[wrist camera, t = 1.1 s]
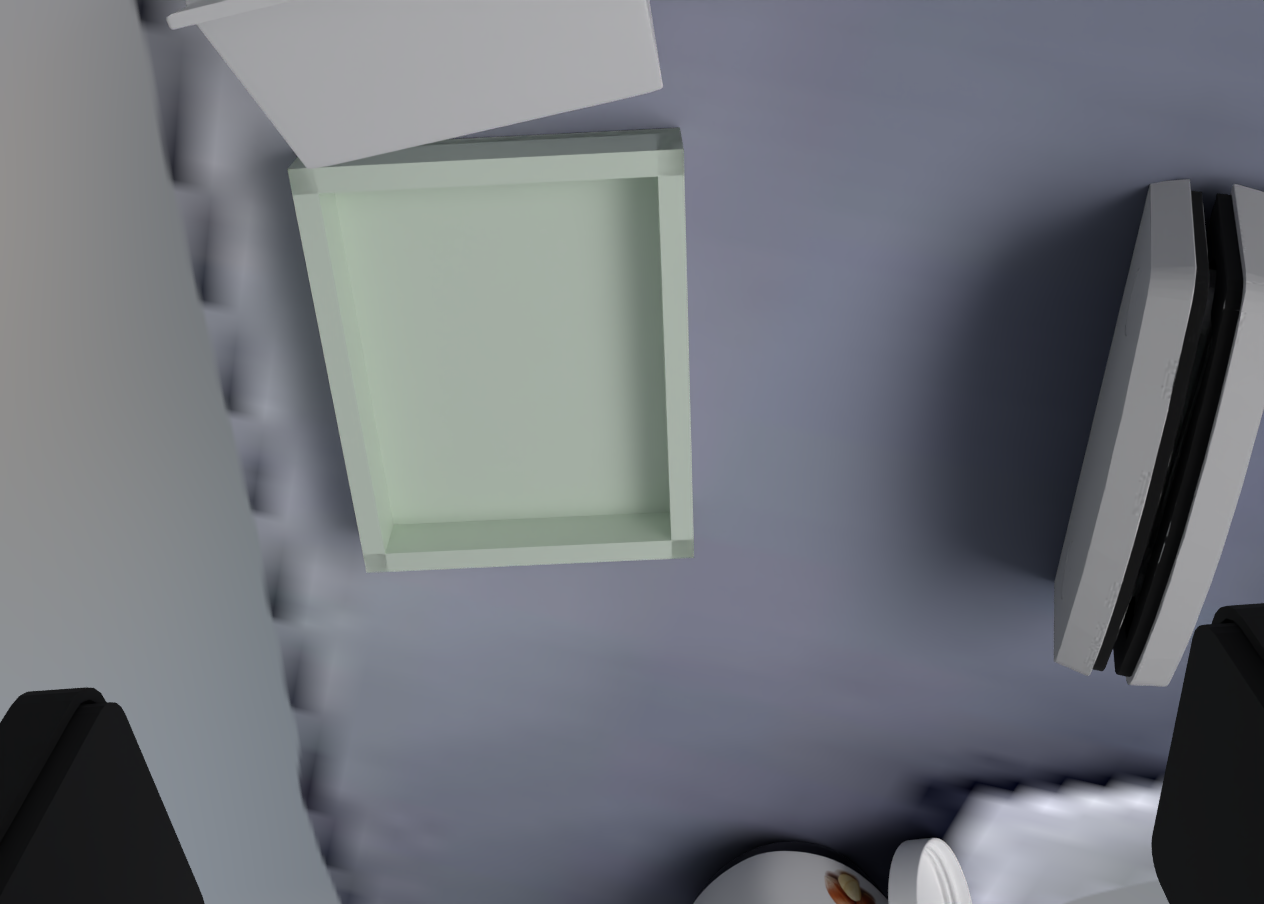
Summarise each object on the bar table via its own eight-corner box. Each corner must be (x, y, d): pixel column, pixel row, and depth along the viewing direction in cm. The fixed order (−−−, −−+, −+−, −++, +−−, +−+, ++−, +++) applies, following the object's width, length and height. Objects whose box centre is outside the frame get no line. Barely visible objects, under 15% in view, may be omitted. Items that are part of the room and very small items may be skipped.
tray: (306, 146, 38) (287, 169, 36) (679, 127, 38) (683, 149, 35) (378, 534, 45) (366, 572, 43) (690, 520, 45) (694, 557, 43)
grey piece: (1178, 588, 47) (1194, 759, 39) (1054, 565, 48) (1045, 724, 40) (1303, 178, 39) (1359, 284, 30) (1149, 162, 40) (1163, 260, 32)
